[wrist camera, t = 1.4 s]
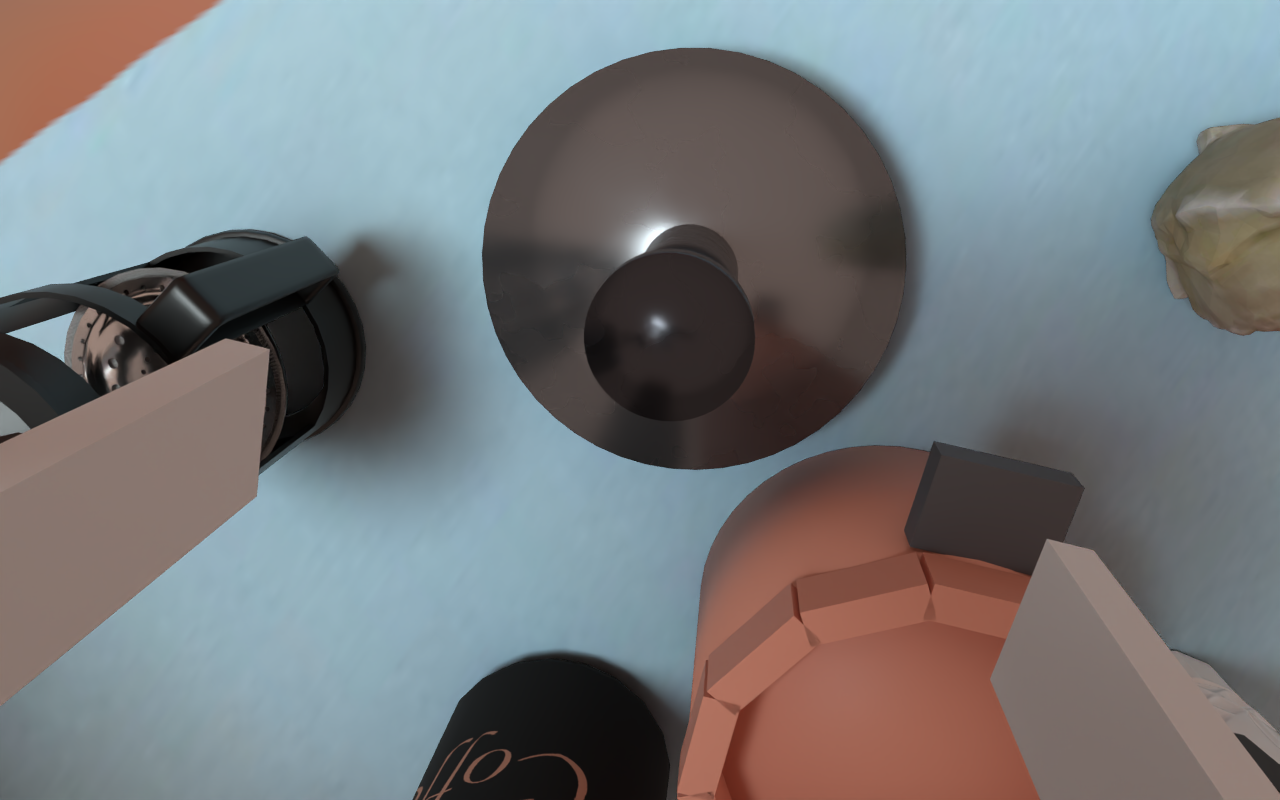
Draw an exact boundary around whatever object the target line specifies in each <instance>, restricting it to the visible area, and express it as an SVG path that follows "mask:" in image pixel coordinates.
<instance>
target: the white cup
mask: <svg viewBox="0 0 1280 800" xmlns="http://www.w3.org/2000/svg"><path fill="white" fill-rule="evenodd" d="M1171 652H1172V653H1173V655H1174V656H1175V657H1176V659H1177V660H1178V661H1179V663H1180V664H1181V665H1182V666H1183V668H1184V669H1185V670H1186V672H1187V673H1188V674H1189V676H1190V677H1191V678H1192V680H1193V681H1194V682H1195V683H1196V685H1197V686H1198V687H1199V689H1200V690H1201V691H1202V693H1203V694H1204V695H1205V697H1206V698H1207V699H1208V700H1209V702H1210V703H1211V704H1212V706H1213V707H1214V708H1215V710H1216V711H1217V712H1218V714H1219V715H1220V716H1221V717H1222V719H1223V720H1224V721H1225V723H1226V724H1227V725H1228V727H1229V728H1230V729H1231V731H1232V732H1233V733H1237V734H1241V735H1245V736H1246V737H1247V738H1248V739H1249V740H1251V741H1252V742H1253V743H1254V744H1256V745H1257V746H1258V747H1259V748H1260V749H1262V750H1263V751H1264V752H1265V753H1266V754H1268V755H1269V756H1270V757H1271V758H1272V759H1274V760H1275V761H1276V762H1277V763H1278V764H1280V734H1279V733H1278V732H1277V731H1276V730H1275V729H1274V727H1273V726H1272V725H1270V724H1269V723H1268V722H1267V721H1266V720H1265V719H1264V718H1263V717H1262V716H1261V715H1260V714H1259V713H1258V711H1257V710H1255V709H1253V708H1252V707H1251V706H1249V705H1248V704H1247V703H1245V702H1244V701H1243V700H1242V699H1241V698H1240V697H1239V696H1238V695H1237V694H1236V693H1235V692H1234V691H1233V690H1232V689H1231V688H1230V687H1229V685H1228V684H1227V683H1226V682H1225V681H1224V680H1223V679H1222V678H1221V677H1220V675H1219V674H1218V673H1217V672H1216V671H1215V670H1214V669H1213V668H1212V667H1211V666H1210V665H1209V664H1207V663H1205V662H1202V661H1200V660H1197V659H1195V658H1192V657H1190V656H1188V655H1185V654H1183V653H1180V652H1178V651H1171Z"/></svg>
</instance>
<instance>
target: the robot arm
mask: <svg viewBox="0 0 1280 800" xmlns="http://www.w3.org/2000/svg"><path fill="white" fill-rule="evenodd" d="M269 353H270V349H267V348H263V347H259V346H255V345H251V344H247V343H243V342H239V341H234V340H230V339H223V340H221V341H219V342H217V343H215V344H213V345H211V346H208V347H206V348H204V349H202V350H200V351H198V352H196V353H193V354H191V355H189V356H187V357H185V358H183V359H181V360H178V361H176V362H174V363H172V364H170V365H168V366H166V367H163V368H161V369H159V370H157V371H155V372H153V373H151V374H148V375H146V376H144V377H142V378H140V379H138V380H136V381H133V382H131V383H129V384H127V385H125V386H123V387H121V388H119V389H116V390H114V391H112V392H110V393H108V394H106V395H104V396H101V397H99V398H97V399H95V400H93V401H91V402H89V403H86V404H84V405H82V406H80V407H78V408H76V409H74V410H71V411H69V412H67V413H65V414H63V415H61V416H59V417H56V418H54V419H52V420H50V421H48V422H46V423H44V424H41V425H39V426H37V427H35V428H33V429H31V430H29V431H26V432H24V433H19V432H17V433H13V434H8V435H4V436H0V706H1V705H2V704H4V703H5V702H6V701H7V700H8V699H10V698H11V697H12V696H13V695H15V694H16V693H17V692H18V691H19V690H21V689H22V688H23V687H24V686H26V685H27V684H28V683H29V682H30V681H32V680H33V679H34V678H35V677H37V676H38V675H39V674H40V673H41V672H43V671H44V670H45V669H46V668H48V667H49V666H50V665H51V664H52V663H54V662H55V661H56V660H57V659H58V658H60V657H61V656H62V655H63V654H65V653H66V652H67V651H68V650H69V649H71V648H72V647H73V646H74V645H76V644H77V643H78V642H79V641H80V640H82V639H83V638H84V637H85V636H87V635H88V634H89V633H90V632H91V631H93V630H94V629H95V628H96V627H98V626H99V625H100V624H101V623H102V622H104V621H105V620H106V619H107V618H109V617H110V616H111V615H112V614H113V613H115V612H116V611H117V610H118V609H120V608H121V607H122V606H123V605H124V604H126V603H127V602H128V601H129V600H131V599H132V598H133V597H134V596H135V595H137V594H138V593H139V592H140V591H142V590H143V589H144V588H145V587H146V586H148V585H149V584H150V583H151V582H153V581H154V580H155V579H156V578H157V577H159V576H160V575H161V574H162V573H164V572H165V571H166V570H167V569H168V568H170V567H171V566H172V565H173V564H175V563H176V562H177V561H178V560H179V559H181V558H182V557H183V556H184V555H186V554H187V553H188V552H189V551H190V550H192V549H193V548H194V547H195V546H196V545H198V544H199V543H200V542H201V541H203V540H204V539H205V538H206V537H207V536H209V535H210V534H211V533H212V532H214V531H215V530H216V529H217V528H218V527H220V526H221V525H222V524H223V523H225V522H226V521H227V520H228V519H229V518H231V517H232V516H233V515H234V514H236V513H237V512H238V511H239V510H240V509H242V508H243V507H244V506H245V505H247V504H248V503H249V502H250V501H251V500H253V499H254V498H255V497H256V496H257V487H258V476H259V465H260V454H261V442H262V431H263V420H264V409H265V398H266V386H267V375H268V364H269ZM990 681H991V683H992V685H993V688H994V690H995V693H996V695H997V697H998V700H999V702H1000V705H1001V707H1002V709H1003V712H1004V714H1005V717H1006V719H1007V721H1008V724H1009V726H1010V728H1011V731H1012V733H1013V736H1014V738H1015V740H1016V743H1017V745H1018V748H1019V750H1020V752H1021V755H1022V757H1023V760H1024V762H1025V764H1026V767H1027V769H1028V772H1029V774H1030V776H1031V779H1032V781H1033V784H1034V786H1035V788H1036V791H1037V793H1038V795H1039V798H1040V800H1280V764H1278V763H1277V762H1276V761H1275V760H1274V759H1272V758H1271V757H1270V756H1269V755H1268V754H1266V753H1265V752H1264V751H1263V750H1262V749H1260V748H1259V747H1258V746H1257V745H1256V744H1254V743H1253V742H1252V741H1251V740H1249V739H1248V738H1247V737H1246V736H1245V735H1241V734H1237V733H1233V732H1232V731H1231V729H1230V728H1229V727H1228V725H1227V724H1226V723H1225V721H1224V720H1223V719H1222V717H1221V716H1220V715H1219V714H1218V712H1217V711H1216V710H1215V708H1214V707H1213V706H1212V704H1211V703H1210V702H1209V700H1208V699H1207V698H1206V697H1205V695H1204V694H1203V693H1202V691H1201V690H1200V689H1199V687H1198V686H1197V685H1196V683H1195V682H1194V681H1193V680H1192V678H1191V677H1190V676H1189V674H1188V673H1187V672H1186V670H1185V669H1184V668H1183V666H1182V665H1181V664H1180V663H1179V661H1178V660H1177V659H1176V657H1175V656H1174V655H1173V653H1172V652H1171V651H1170V649H1169V648H1168V647H1167V646H1166V644H1165V643H1164V642H1163V640H1162V639H1161V638H1160V636H1159V635H1158V634H1157V632H1156V631H1155V630H1154V629H1153V627H1152V626H1151V625H1150V623H1149V622H1148V621H1147V619H1146V618H1145V617H1144V615H1143V614H1142V613H1141V612H1140V610H1139V609H1138V608H1137V606H1136V605H1135V604H1134V602H1133V601H1132V600H1131V598H1130V597H1129V596H1128V595H1127V593H1126V592H1125V591H1124V589H1123V588H1122V587H1121V585H1120V584H1119V583H1118V581H1117V580H1116V579H1115V578H1114V576H1113V575H1112V574H1111V572H1110V571H1109V570H1108V568H1107V567H1106V566H1105V564H1104V563H1103V562H1102V561H1101V559H1100V558H1099V557H1098V555H1097V554H1096V553H1095V551H1094V550H1091V549H1087V548H1083V547H1079V546H1074V545H1070V544H1066V543H1062V542H1058V541H1054V540H1050V539H1047V540H1046V542H1045V544H1044V547H1043V549H1042V552H1041V554H1040V557H1039V559H1038V562H1037V564H1036V567H1035V569H1034V572H1033V574H1032V577H1031V579H1030V582H1029V584H1028V586H1027V589H1026V591H1025V594H1024V596H1023V599H1022V601H1021V604H1020V606H1019V609H1018V611H1017V614H1016V616H1015V619H1014V621H1013V623H1012V626H1011V628H1010V631H1009V633H1008V636H1007V638H1006V641H1005V643H1004V646H1003V648H1002V651H1001V653H1000V656H999V658H998V661H997V663H996V665H995V668H994V670H993V673H992V675H991V678H990Z"/></svg>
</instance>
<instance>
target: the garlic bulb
mask: <svg viewBox="0 0 1280 800" xmlns="http://www.w3.org/2000/svg"><path fill="white" fill-rule="evenodd" d="M1197 146H1198V150H1199V154H1200V155H1199V156H1198V157H1196V158H1195V159H1194V160H1193V161H1192V162H1191V163H1190V164H1189V165H1188V166H1187V167H1186V168H1185V169H1184V170H1183V171H1182V172H1181V174H1180V175H1179V176H1178V177H1177V178H1176V179H1175V180H1174V181H1173V182H1172V183H1171V184H1170V185H1169V187H1168V188H1167V190H1166V191H1165V193H1164V194H1163V196H1162V197H1161V198H1160V200H1159V201H1158V202H1157V204H1156V205H1155V208H1154V211H1153V214H1152V218H1151V225H1152V228H1153V230H1154V232H1155V238H1156V239H1157V241H1158V247H1159V250H1160V251H1161V253H1162V254H1163V255H1164V256H1165V259H1166V272H1167V283H1168V285H1169V288H1170V290H1171V292H1172V294H1173V296H1174V298H1176V299H1182V298H1187V297H1189V300H1190V303H1191V306H1192V308H1193V310H1194V311H1195V312H1196V313H1197V314H1198V315H1199V316H1200V317H1202V318H1203V319H1206V320H1208V321H1209V322H1210V323H1211V324H1212V325H1213V326H1214V327H1217V328H1219V329H1225V330H1228V331H1230V332H1232V333H1235V334H1238V335H1243V336H1244V335H1249V334H1252V333H1253V332H1255V331H1264V332H1265V331H1280V118H1276V119H1272V120H1269V121H1266V122H1262V123H1259V124H1256V125H1252V124H1239V125H1229V126H1220V127H1211V128H1209V129H1206V130H1204V131H1202V132H1201V133H1200V134H1199V136H1198V139H1197Z"/></svg>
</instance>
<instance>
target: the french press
mask: <svg viewBox="0 0 1280 800" xmlns="http://www.w3.org/2000/svg"><path fill="white" fill-rule="evenodd" d="M338 274H339V269H338V267H337V266H336V265H335V264H334V263H333V262H332V261H331V260H330V259H329V258H328V257H327V256H326V255H325V254H324V253H323V252H322V251H321V250H320V249H319V248H318V247H317V245H316V244H315V243H314V242H313V241H312V240H311V239H309V238H308V237H302V238H299V239H296V240H292V241H291V240H288V239H286V238H283V237H280V236H277V235H275V234H272V233H268V232H261V231H255V230H228V231H224V232H220V233H217V234H213V235H209V236H205V237H203V238H201V239H199V240H197V241H196V242H194V243H192V244H190V245H188V246H187V247H185V248H182V249H179V250H175V251H171V252H168V253H165V254H163V255H161V256H159V257H157V258H156V259H154V260H152V261H150V262H148V263H144V264H141V265H137V266H134V267H130V268H126V269H123V270H119V271H116V272H112V273H109V274H105V275H101V276H98V277H94V278H91V279H87V280H83V281H80V282H76V283H72V284H50V285H46V286H42V287H39V288H35V289H31V290H27V291H23V292H20V293H16V294H12V295H9V296H5V297H1V298H0V436H4V435H8V434H13V433H17V432H19V433H24V432H26V431H29V430H31V429H33V428H35V427H37V426H39V425H41V424H44V423H46V422H48V421H50V420H52V419H54V418H56V417H59V416H61V415H63V414H65V413H67V412H69V411H71V410H74V409H76V408H78V407H80V406H82V405H84V404H86V403H89V402H91V401H93V400H95V399H97V398H99V397H101V396H104V395H106V394H108V393H110V392H112V391H114V390H116V389H119V388H121V387H123V386H125V385H127V384H129V383H131V382H133V381H136V380H138V379H140V378H142V377H144V376H146V375H148V374H151V373H153V372H155V371H157V370H159V369H161V368H163V367H166V366H168V365H170V364H172V363H174V362H176V361H178V360H181V359H183V358H185V357H187V356H189V355H191V354H193V353H196V352H198V351H200V350H202V349H204V348H206V347H208V346H211V345H213V344H215V343H217V342H219V341H221V340H223V339H230V340H234V341H239V342H243V343H247V344H251V345H255V346H259V347H263V348H267V349H270V353H269V364H268V375H267V386H266V398H265V409H264V420H263V431H262V442H261V454H260V465H259V475H260V474H261V473H262V472H264V471H265V470H266V469H267V468H269V467H270V466H271V465H272V464H274V463H275V462H276V461H278V460H279V459H280V458H281V457H283V456H284V455H285V454H287V453H288V452H289V451H290V450H292V449H293V448H294V447H296V446H297V445H298V444H299V443H301V442H302V441H305V440H307V439H309V438H311V437H313V436H315V435H318V434H320V433H322V432H323V431H324V430H326V429H327V428H328V427H329V426H331V425H332V424H333V423H335V422H336V421H337V420H339V418H340V417H341V416H342V415H343V414H344V412H345V411H346V410H347V409H348V408H349V406H350V405H351V403H352V401H353V399H354V397H355V396H356V394H357V392H358V390H359V388H360V384H361V380H362V376H363V372H364V368H365V350H366V346H365V339H364V333H363V326H362V323H361V320H360V317H359V314H358V312H357V309H356V306H355V304H354V302H353V300H352V298H351V297H350V295H349V293H348V291H347V290H346V288H345V286H344V285H343V283H342V282H341V281H340V280H339V279H338V277H337V275H338ZM301 307H303V309H304V311H305V313H306V314H307V316H308V318H309V320H310V321H311V323H312V325H313V327H314V329H315V332H316V335H317V338H318V340H319V343H320V346H321V351H322V357H323V363H324V386H323V388H322V390H321V392H320V393H319V394H318V396H317V397H316V398H315V399H314V400H313V402H312V403H310V404H309V405H308V406H307V407H305V408H304V409H302V410H300V411H298V412H295V413H293V414H290V415H286V410H287V389H288V386H287V380H286V374H285V369H284V364H283V361H282V358H281V355H280V352H279V349H278V346H277V344H276V342H275V340H274V339H273V337H272V335H271V333H270V331H269V329H268V328H267V326H266V325H265V324H267V323H269V322H271V321H273V320H276V319H278V318H280V317H282V316H284V315H286V314H288V313H290V312H292V311H294V310H297V309H299V308H301ZM74 311H76V312H75V313H74V316H73V319H72V321H71V324H70V326H69V329H68V332H67V337H66V344H65V351H64V357H65V363H64V362H62V361H61V360H60V359H58V358H57V357H55V356H53V355H51V354H50V353H48V352H46V351H44V350H43V349H41V348H39V347H37V346H36V345H34V344H32V343H29V342H26V341H24V340H21V339H18V338H15V337H13V336H10V335H7V334H6V333H9V332H12V331H15V330H18V329H21V328H24V327H27V326H31V325H34V324H37V323H40V322H43V321H46V320H49V319H52V318H56V317H59V316H62V315H65V314H68V313H71V312H74ZM285 415H286V416H285Z"/></svg>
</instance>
